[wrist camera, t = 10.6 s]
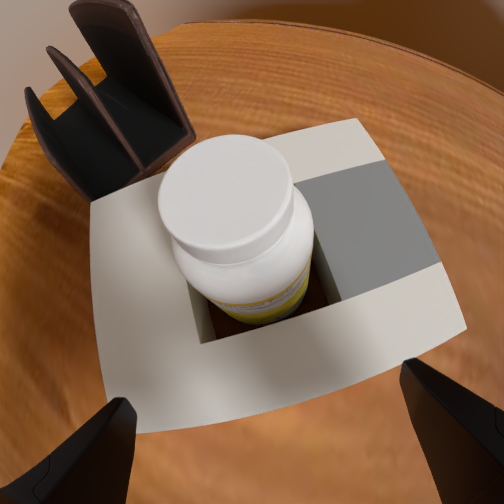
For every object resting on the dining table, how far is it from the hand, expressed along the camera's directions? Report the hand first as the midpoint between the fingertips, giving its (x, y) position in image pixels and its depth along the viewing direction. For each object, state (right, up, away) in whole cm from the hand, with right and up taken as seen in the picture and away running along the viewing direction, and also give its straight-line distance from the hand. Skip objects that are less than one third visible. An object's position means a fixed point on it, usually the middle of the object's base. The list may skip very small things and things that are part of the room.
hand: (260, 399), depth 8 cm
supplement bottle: (0, +3, +9) cm, 10 cm away
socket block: (0, +3, +9) cm, 10 cm away
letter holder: (-15, +16, +17) cm, 28 cm away
